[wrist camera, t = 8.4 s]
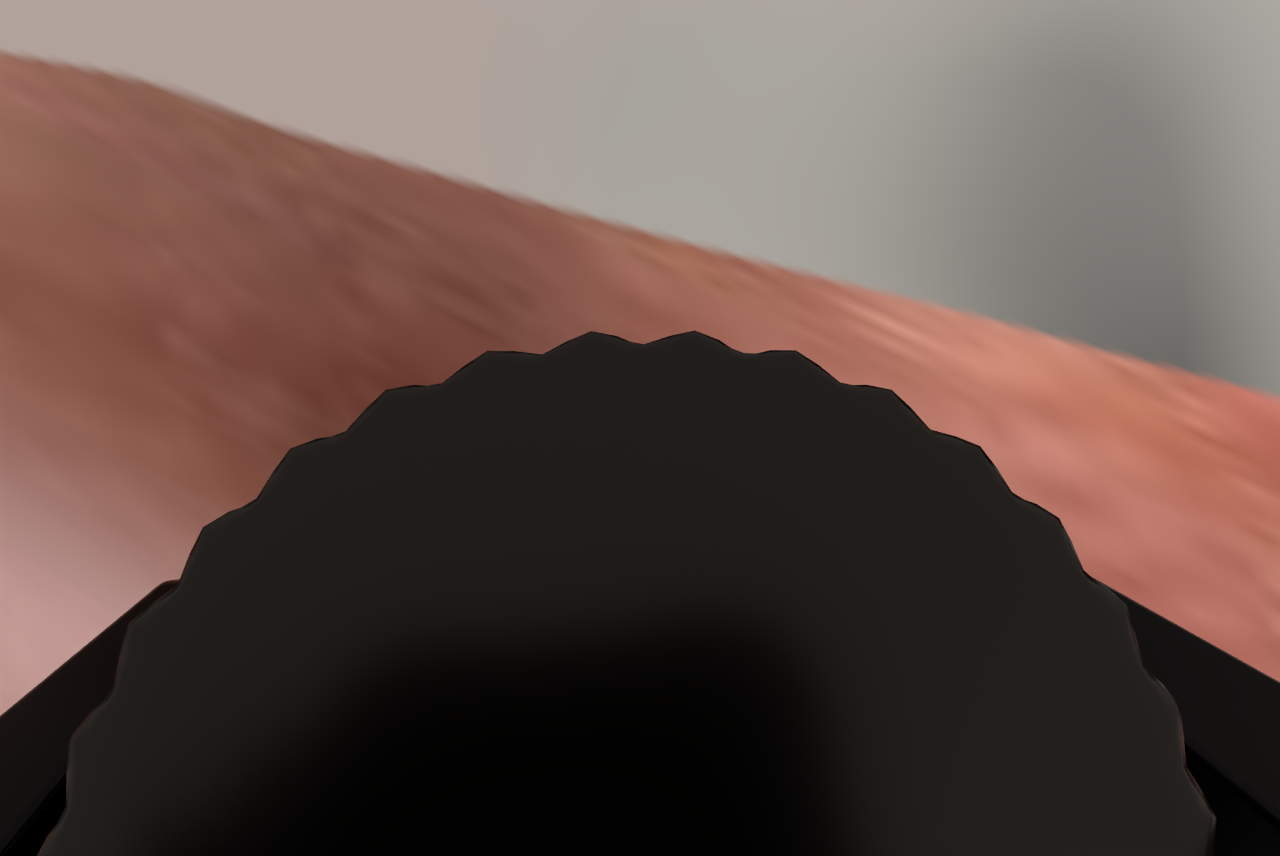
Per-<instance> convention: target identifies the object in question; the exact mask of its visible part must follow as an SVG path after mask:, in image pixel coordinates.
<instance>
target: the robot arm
mask: <svg viewBox="0 0 1280 856" xmlns="http://www.w3.org/2000/svg"><path fill="white" fill-rule="evenodd" d="M1092 578H1093V577H1092ZM1093 579H1094V578H1093ZM179 580H180V579H179ZM179 580H170V581H166V582H163V583H162V584H160V585H159V586H157V587H156V588H155V589H154V590H152V591H151V592H150V593H149V594H148V595H146V596H145V597H144V598H143V599H141V600H140V601H139V602H138V603H137V604H135V605H134V606H133V607H132V608H131V609H129V610H128V611H127V612H126V613H125V614H123V615H122V616H121V617H120V618H118V619H117V620H116V621H115V622H114V623H112V624H111V625H110V626H109V627H108V628H106V629H105V630H104V631H103V632H101V633H100V634H99V635H98V636H97V637H95V638H94V639H93V640H92V641H91V642H89V643H88V644H87V645H86V646H85V647H83V648H82V649H81V650H80V651H78V652H77V653H76V654H75V655H74V656H72V657H71V658H70V659H69V660H68V661H66V662H65V663H64V664H63V665H62V666H60V667H59V668H58V669H57V670H55V671H54V672H53V673H52V674H51V675H49V676H48V677H47V678H46V679H45V680H43V681H42V682H41V683H40V684H39V685H37V686H36V687H35V688H34V689H32V690H31V691H30V692H29V693H28V694H26V695H25V696H24V697H23V698H22V699H20V700H19V701H18V702H17V703H15V704H14V705H13V706H12V707H11V708H9V709H8V710H7V711H6V712H5V713H3V714H2V715H1V716H0V856H37V855H38V853H39V851H40V849H41V847H42V845H43V843H44V841H45V839H46V837H47V836H48V834H49V833H50V832H51V831H52V830H53V828H54V827H55V826H56V825H57V823H58V821H59V819H60V817H61V815H62V813H63V811H64V809H65V807H66V771H67V761H68V750H69V740H70V738H71V737H72V735H73V734H74V733H75V732H76V730H77V729H78V728H79V726H80V725H81V724H82V723H83V721H84V720H85V719H86V717H87V716H88V715H89V714H90V713H91V712H92V711H93V710H94V709H95V708H97V707H98V706H99V705H100V704H101V703H102V702H103V700H104V699H105V698H106V697H107V695H108V694H109V693H110V691H111V690H112V689H113V687H114V682H115V676H116V671H117V666H118V660H119V655H120V651H121V648H122V644H123V641H124V637H125V634H126V630H127V627H128V624H129V623H131V622H132V621H133V620H134V619H135V618H136V617H138V616H139V615H140V614H141V613H142V612H143V611H144V610H145V609H147V608H148V607H149V606H150V605H151V604H152V603H154V602H155V601H156V600H158V599H159V598H160V597H162V596H163V595H164V594H166V593H167V592H168V591H170V590H171V589H172V588H174V587H175V586H176V585H178V583H179ZM1094 580H1095V581H1097V582H1099V583H1100V584H1102V585H1104V586H1106V587H1107V588H1108V589H1109V590H1110V591H1111V592H1112V593H1114V594H1115V595H1116V596H1117V597H1118V598H1119V599H1120V600H1121V601H1122V602H1123V603H1125V604H1126V605H1127V608H1128V612H1129V615H1130V618H1131V621H1132V624H1133V627H1134V631H1135V634H1136V638H1137V642H1138V647H1139V651H1140V655H1141V659H1142V662H1143V663H1144V665H1145V666H1146V667H1147V668H1148V670H1149V671H1150V672H1151V673H1152V675H1153V676H1154V677H1155V678H1156V679H1158V680H1159V681H1160V682H1161V683H1162V684H1163V685H1164V686H1165V688H1166V689H1167V690H1168V691H1169V693H1170V694H1171V695H1172V697H1173V698H1174V699H1175V700H1176V702H1177V703H1178V704H1179V706H1180V711H1181V718H1182V726H1183V733H1184V747H1185V761H1186V767H1187V768H1188V770H1189V771H1190V773H1191V775H1192V776H1193V778H1194V779H1195V781H1196V782H1197V784H1198V786H1199V787H1200V789H1201V790H1202V792H1203V794H1204V796H1205V798H1206V800H1207V801H1208V803H1209V805H1210V807H1211V809H1212V811H1213V813H1214V815H1215V817H1216V843H1215V856H1280V682H1278V681H1277V680H1275V679H1273V678H1271V677H1269V676H1268V675H1266V674H1264V673H1262V672H1261V671H1259V670H1257V669H1255V668H1253V667H1252V666H1250V665H1248V664H1246V663H1244V662H1243V661H1241V660H1239V659H1237V658H1236V657H1234V656H1232V655H1230V654H1228V653H1227V652H1225V651H1223V650H1221V649H1219V648H1218V647H1216V646H1214V645H1212V644H1211V643H1209V642H1207V641H1205V640H1203V639H1202V638H1200V637H1198V636H1196V635H1194V634H1193V633H1191V632H1189V631H1187V630H1185V629H1184V628H1182V627H1180V626H1178V625H1177V624H1175V623H1173V622H1171V621H1169V620H1168V619H1166V618H1164V617H1162V616H1160V615H1159V614H1157V613H1155V612H1153V611H1152V610H1150V609H1148V608H1146V607H1144V606H1143V605H1141V604H1139V603H1137V602H1135V601H1134V600H1132V599H1130V598H1128V597H1127V596H1125V595H1123V594H1121V593H1119V592H1118V591H1116V590H1114V589H1112V588H1110V587H1109V586H1107V585H1105V584H1103V583H1102V582H1100V581H1098V580H1096V579H1094Z"/></svg>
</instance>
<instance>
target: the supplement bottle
mask: <svg viewBox="0 0 1280 856" xmlns="http://www.w3.org/2000/svg"><path fill="white" fill-rule="evenodd" d="M1215 843H1216V817H1215V815H1214V813H1213V811H1212V809H1211V807H1210V805H1209V803H1208V801H1207V800H1206V798H1205V796H1204V794H1203V792H1202V790H1201V789H1200V787H1199V786H1198V784H1197V782H1196V781H1195V779H1194V778H1193V776H1192V775H1191V773H1190V771H1189V770H1188V768H1187V767H1186V761H1185V747H1184V733H1183V726H1182V718H1181V711H1180V706H1179V704H1178V703H1177V702H1176V700H1175V699H1174V698H1173V697H1172V695H1171V694H1170V693H1169V691H1168V690H1167V689H1166V688H1165V686H1164V685H1163V684H1162V683H1161V682H1160V681H1159V680H1158V679H1156V678H1155V677H1154V676H1153V675H1152V673H1151V672H1150V671H1149V670H1148V668H1147V667H1146V666H1145V665H1144V663H1143V662H1142V659H1141V655H1140V651H1139V647H1138V642H1137V638H1136V634H1135V631H1134V627H1133V624H1132V621H1131V618H1130V615H1129V612H1128V608H1127V605H1126V604H1125V603H1123V602H1122V601H1121V600H1120V599H1119V598H1118V597H1117V596H1116V595H1115V594H1114V593H1112V592H1111V591H1110V590H1109V589H1108V588H1107V587H1106V586H1104V585H1102V584H1100V583H1099V582H1097V581H1095V580H1094V579H1093V578H1092V577H1091V576H1090V575H1088V574H1087V573H1086V572H1085V571H1084V570H1083V568H1082V565H1081V563H1080V561H1079V558H1078V556H1077V554H1076V551H1075V549H1074V547H1073V544H1072V542H1071V540H1070V538H1069V536H1068V534H1067V532H1066V530H1065V529H1064V527H1063V525H1062V523H1061V521H1060V519H1059V518H1058V517H1056V516H1055V515H1053V514H1052V513H1050V512H1048V511H1047V510H1045V509H1044V508H1042V507H1040V506H1039V505H1037V504H1035V503H1032V502H1029V501H1026V500H1024V499H1022V498H1021V497H1019V496H1017V495H1016V494H1014V493H1012V491H1011V490H1010V488H1009V487H1008V485H1007V484H1006V482H1005V480H1004V479H1003V477H1002V476H1001V474H1000V473H999V471H998V469H997V468H996V466H995V465H994V464H993V463H992V461H991V460H990V459H989V457H988V456H987V455H986V453H985V452H984V451H983V449H982V448H981V447H980V446H979V445H976V444H973V443H971V442H968V441H966V440H963V439H961V438H958V437H956V436H952V435H948V434H945V433H941V432H937V431H933V430H930V429H929V428H928V427H927V425H926V424H925V423H924V422H923V421H922V420H921V419H920V418H919V416H918V415H917V414H916V413H915V412H914V411H913V410H912V409H911V408H910V407H909V406H908V405H907V404H906V403H905V402H904V401H903V400H902V399H901V398H900V397H899V396H898V395H896V394H895V393H894V392H893V391H892V390H890V389H885V388H880V387H875V386H870V385H849V384H844V383H840V382H839V381H838V380H836V379H835V378H834V377H833V376H831V375H830V374H829V373H828V372H826V371H825V370H824V369H823V368H821V367H820V366H819V365H818V364H816V363H815V362H813V361H811V360H810V359H808V358H807V357H805V356H804V355H802V354H801V353H799V352H798V351H796V350H770V351H766V352H761V353H757V354H749V353H742V352H739V351H737V350H734V349H732V348H730V347H729V346H727V345H726V344H724V343H723V342H721V341H720V340H717V339H715V338H712V337H710V336H707V335H705V334H702V333H700V332H697V331H691V332H686V333H681V334H677V335H672V336H668V337H665V338H662V339H659V340H656V341H653V342H650V343H647V344H639V343H633V342H629V341H627V340H625V339H622V338H620V337H618V336H613V335H608V334H603V333H598V332H592V331H591V332H588V333H586V334H583V335H581V336H579V337H576V338H574V339H571V340H569V341H567V342H565V343H563V344H561V345H559V346H558V347H556V348H554V349H552V350H550V351H548V352H546V353H545V354H543V355H542V354H533V353H525V352H517V351H487V352H485V353H483V354H482V355H480V356H479V357H477V358H476V359H474V360H473V361H471V362H470V363H468V364H466V365H465V366H464V367H462V368H461V369H460V370H459V371H457V372H456V373H455V374H453V375H452V376H451V377H450V378H448V379H447V380H446V381H445V382H443V383H441V384H436V385H430V386H422V385H411V386H405V387H399V388H394V389H388V390H385V391H384V392H383V393H382V394H381V395H380V396H379V397H378V398H377V399H376V400H375V401H374V402H373V403H372V404H371V405H370V406H368V407H367V408H366V409H365V410H364V412H363V413H362V414H361V415H360V416H359V417H358V418H357V419H356V421H355V422H354V423H353V424H352V425H351V426H350V427H349V428H348V430H347V431H345V432H343V433H340V434H337V435H335V436H332V437H326V438H319V439H315V440H312V441H310V442H307V443H304V444H301V445H299V446H296V447H293V448H291V449H290V450H289V451H288V452H287V454H286V455H285V457H284V458H283V459H282V461H281V462H280V463H279V465H278V466H277V467H276V469H275V470H274V471H273V473H272V474H271V476H270V478H269V479H268V481H267V483H266V484H265V486H264V487H263V489H262V491H261V492H260V494H259V496H258V497H257V499H255V500H253V501H252V502H250V503H248V504H247V505H245V506H243V507H242V508H239V509H236V510H233V511H230V512H228V513H226V514H224V515H223V516H221V517H219V518H218V519H216V520H214V521H212V522H211V523H209V524H207V525H206V526H204V527H203V528H202V530H201V532H200V534H199V536H198V538H197V540H196V542H195V544H194V546H193V548H192V550H191V553H190V555H189V557H188V560H187V562H186V565H185V568H184V570H183V573H182V575H181V578H180V580H179V583H178V585H176V586H175V587H174V588H172V589H171V590H170V591H168V592H167V593H166V594H164V595H163V596H162V597H160V598H159V599H158V600H156V601H155V602H154V603H152V604H151V605H150V606H149V607H148V608H147V609H145V610H144V611H143V612H142V613H141V614H140V615H139V616H138V617H136V618H135V619H134V620H133V621H132V622H131V623H129V624H128V627H127V630H126V634H125V637H124V641H123V644H122V648H121V651H120V655H119V660H118V666H117V671H116V676H115V682H114V687H113V689H112V690H111V691H110V693H109V694H108V695H107V697H106V698H105V699H104V700H103V702H102V703H101V704H100V705H99V706H98V707H97V708H95V709H94V710H93V711H92V712H91V713H90V714H89V715H88V716H87V717H86V719H85V720H84V721H83V723H82V724H81V725H80V726H79V728H78V729H77V730H76V732H75V733H74V734H73V735H72V737H71V738H70V740H69V750H68V761H67V771H66V807H65V809H64V811H63V813H62V815H61V817H60V819H59V821H58V823H57V825H56V826H55V827H54V828H53V830H52V831H51V832H50V833H49V834H48V836H47V837H46V839H45V841H44V843H43V845H42V847H41V849H40V851H39V853H38V855H37V856H1215Z"/></svg>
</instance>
